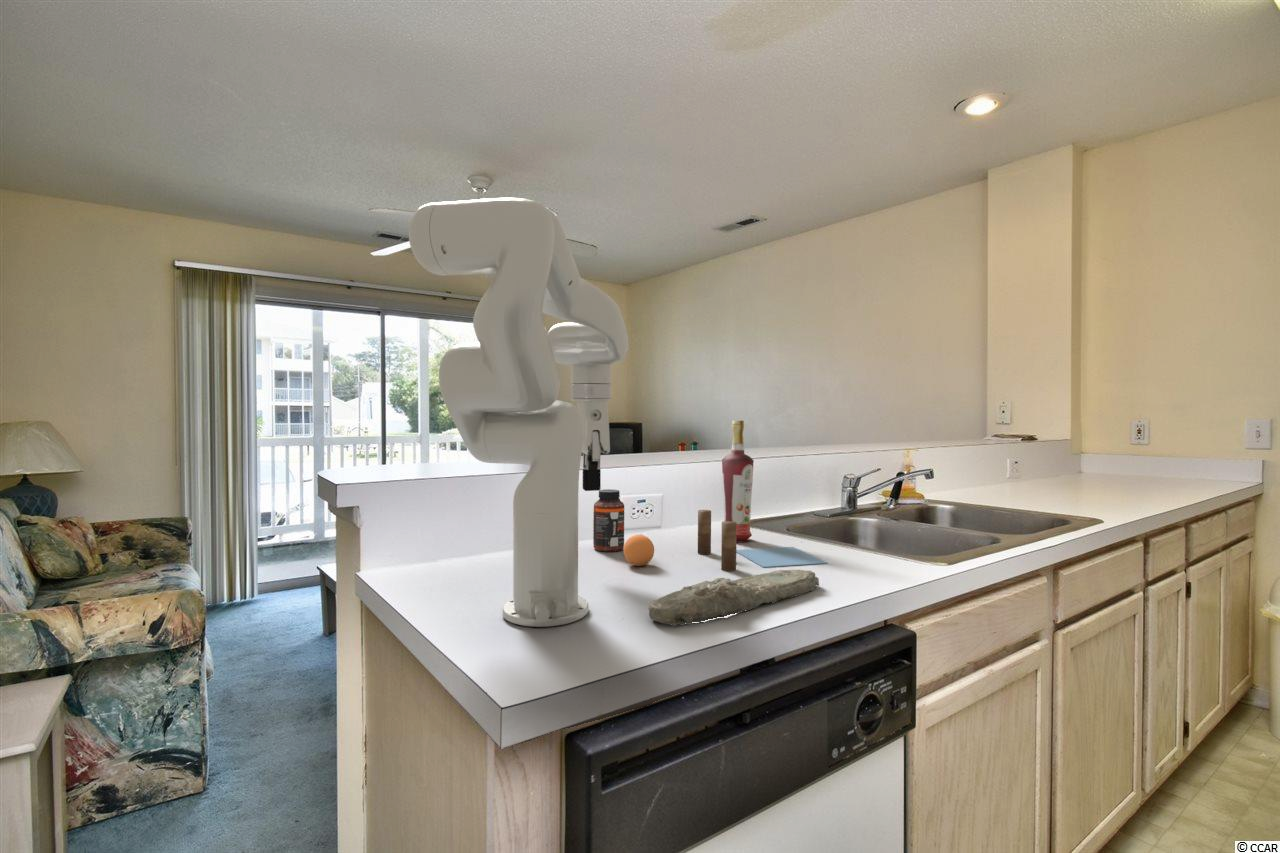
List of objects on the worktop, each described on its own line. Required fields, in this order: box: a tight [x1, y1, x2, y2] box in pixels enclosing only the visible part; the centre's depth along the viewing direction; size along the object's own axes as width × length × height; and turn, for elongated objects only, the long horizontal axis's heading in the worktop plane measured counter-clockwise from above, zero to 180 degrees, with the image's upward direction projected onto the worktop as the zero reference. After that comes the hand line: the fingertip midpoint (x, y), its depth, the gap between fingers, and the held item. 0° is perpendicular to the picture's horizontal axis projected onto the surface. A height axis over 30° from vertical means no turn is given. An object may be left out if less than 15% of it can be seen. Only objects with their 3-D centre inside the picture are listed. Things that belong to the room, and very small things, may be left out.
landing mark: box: [736, 546, 829, 568], centre depth 122 cm, size 14×14×1 cm
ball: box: [623, 534, 655, 567], centre depth 115 cm, size 6×6×6 cm
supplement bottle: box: [592, 488, 625, 553], centre depth 128 cm, size 7×7×13 cm
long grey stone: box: [648, 569, 820, 626], centre depth 93 cm, size 35×5×10 cm
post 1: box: [697, 509, 712, 556], centre depth 125 cm, size 3×3×9 cm
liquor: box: [721, 420, 754, 543], centre depth 138 cm, size 7×7×28 cm
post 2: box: [720, 520, 737, 572], centre depth 112 cm, size 3×3×9 cm
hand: (591, 489), depth 113 cm, fingers closed
